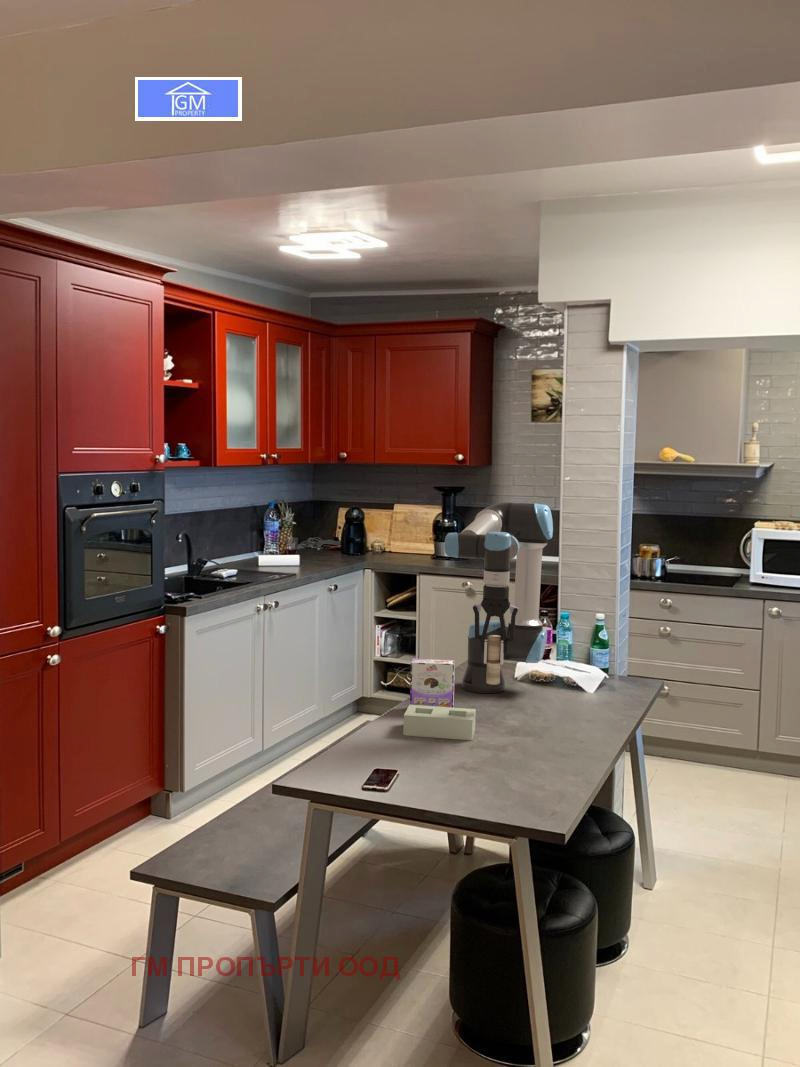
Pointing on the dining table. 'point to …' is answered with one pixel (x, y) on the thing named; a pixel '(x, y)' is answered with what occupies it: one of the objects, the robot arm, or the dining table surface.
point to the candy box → (432, 682)
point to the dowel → (493, 659)
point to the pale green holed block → (439, 722)
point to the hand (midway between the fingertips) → (493, 662)
